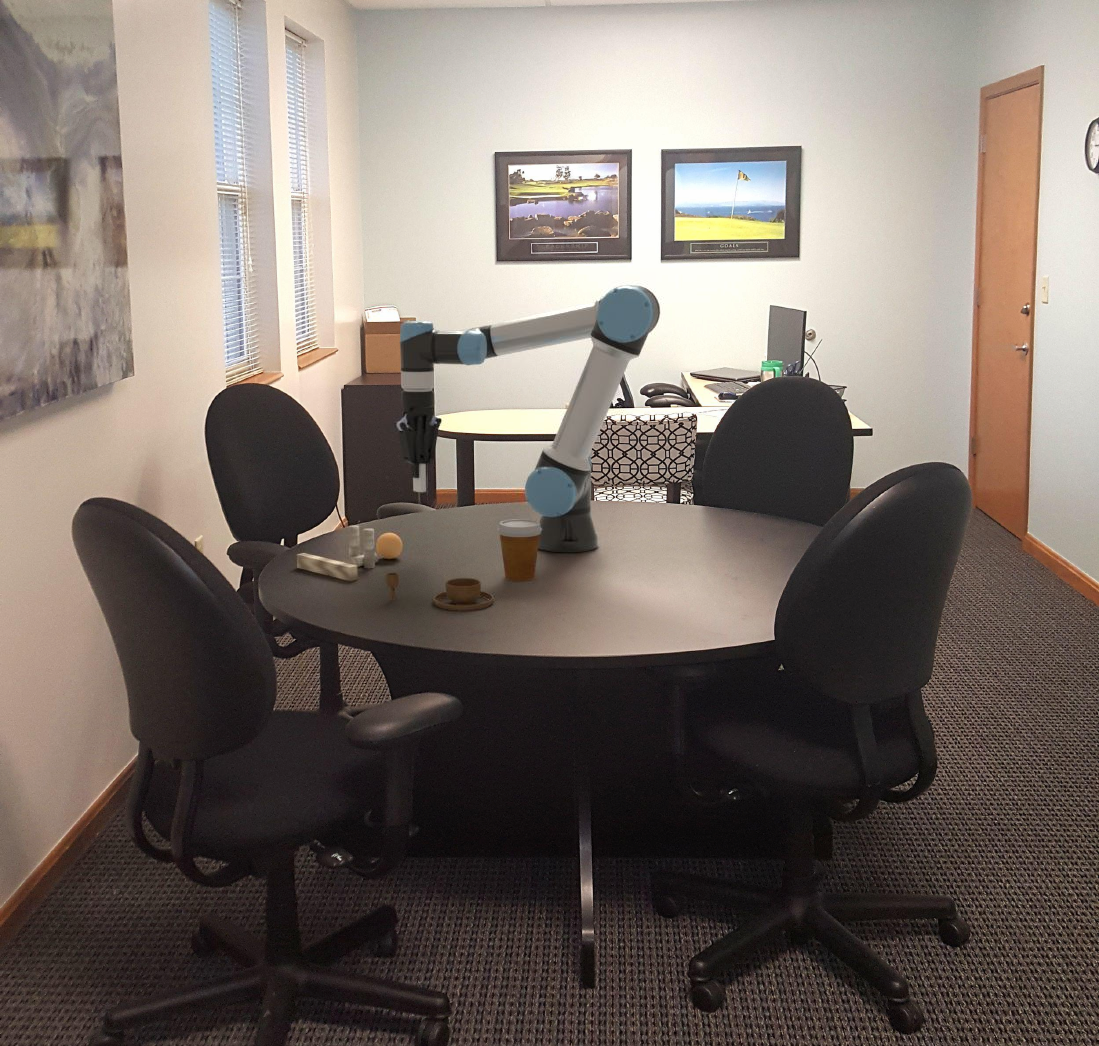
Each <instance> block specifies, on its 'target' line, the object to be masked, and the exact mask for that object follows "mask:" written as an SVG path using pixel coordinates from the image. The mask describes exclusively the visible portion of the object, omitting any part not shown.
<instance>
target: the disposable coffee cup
mask: <svg viewBox="0 0 1099 1046" xmlns="http://www.w3.org/2000/svg"><path fill="white" fill-rule="evenodd" d="M539 522H540V521H537V520H533V519H524V518H522V519H521V518H519V519H518V518H515V519H513V518H511V519H505V520H501V521H500V522H499V523H498V524H499V525H498V528H497V531H498V534H499V539H500V546H501V554H502V561H503V569H504V577H505V579H506V580H507V581H508V580H509V581H513V582H526V581H531V580H534V579H535V577H536V576H535V575H536V567H537V560H538V559H537V558H538V552H539V549H538V545H539V537H540V534H541V531H542V528H541V526H540V523H539Z"/></svg>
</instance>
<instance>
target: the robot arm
mask: <svg viewBox="0 0 1099 1046" xmlns="http://www.w3.org/2000/svg"><path fill="white" fill-rule="evenodd" d="M660 316H661V306H660V303H659V300H658V298H657V296H656V295H655V294H654V293H653V291H651V290H650V289H648V288H647V287H644V286H641V285H633V284H632V285H631V284H625V285H620V286H616V287H614V288H613V289H611V290H609V291H608V292H607V293H606V294H605V295H604V296H600V297H598V298H597V300H596V301H595V302H592V303H587V304H583V305H578V306H574V307H569V308H564V309H559V310H554V311H550V312H545V313H539V314H535V315H531V316H526V317H521V318H517V319H512V320H507V321H506V320H505V321H502V322H497V323H492V324H488V325H484V326H483V325H482V326H479V327H472V328H468V329H462V330H436V329H435V328H434V323H433V322H432V321H421V320H419V321H415V320H412V321H411V320H409V321H404V322H402V323H401V324H400V333H399V336H400V337H399V349H400V383H401V385H400V387H401V388H402V389H403V390H402V391H401V393H400V394H401V395H400V396H401V400H400V401H401V402H400V403H401V406H402V408H403V412H402V414H401V415H402V418H401V419H400V420H399V421H395V422H394V427H395V428H396V431H397V434H398V438H399V443H400V448H401V453H402V458H403V461H404V462H407V463H408V464H410V467H411V468H410V470H411V473H410V475H411V478H412V482H413V487H412V488H413V489H412V490H413V492H417V493H425V492H426V493H427V478H426V477H427V476H428V464H431V462H432V461H431V460H434V459H435V455H436V454H435V453H436V447H437V442H438V441H437V440H438V434H439V429H440V426H441V424H442V418H441V417H436V416H435V413H434V410H433V407H434V406H435V392H434V390H433V389H434V388H435V375H434V374H435V369H434V367H435V366H434V365H435V364H436V365H440V364H441V365H461V366H462V365H465V366H473V365H474V366H475V365H482V364H483V363H484V362H485V360H486V359H491V358H496V357H501V356H504V355H505V356H506V355H510V354H514V353H515V354H516V353H520V352H525V351H530V350H535V349H540V348H545V347H550V346H556V345H560V344H565V343H571V342H576V341H581V340H586V339H591V341H592V348H591V350H590V353H589V355H588V358H587V360H586V363H585V365H584V366H583V367H584V368H583V369H582V372H581V374H580V378H579V380H578V382H577V384H576V386H575V389H574V391H573V393H572V397H571V398H570V401H569V404H568V406H567V408H566V411H565V413H564V414H563V415H564V416H563V419H562V421H561V423H560V425H559V428H558V430H557V432H556V435H555V437H554V440H553V442H552V443H551V444H550V445H547V446H545V447H543V449H542V451H541V454H540V456H539V459H538V461H537V463H536V465H535V468H534V470H533V471H532V472H531V473H530V474H529V475H528V477H527V479H526V482H525V485H524V496H525V499H526V501H527V503H528V505H529V506H530V508H531V509H532V510H533V511H535V512H536V513H538V514H539V515H541V517H540V519H539V521H538V522H539V523H540V526H541V528H542V531H541V534H540V537H539V545H538V550H542V551H546V552H553V553H581V552H582V553H583V552H587V551H592V550H594V549H597V547H599V546H598V543H599V541H598V539H599V538H598V537H599V536H598V535H597V533H596V530H595V526H594V521H593V517H592V514H591V513H592V512H591V511H592V509H591V506H592V505H591V501H592V466H593V464H592V455H591V452H592V449H593V447H594V445H595V442H596V440H597V438H598V436H599V433H600V432H601V431H600V430H601V429H602V426H603V424H604V422H605V419H606V417H607V414H608V412H609V410H610V408H611V405H612V402H613V401H614V398H615V396H616V393H617V391H618V388H619V386H620V384H621V382H622V379H623V376H624V374H625V372H626V369H627V368H628V365H629V362H630V361H632V360H634V359H637V358H639V357H640V354H641V352H642V349H643V348H644V345H645V343H646V340H647V339H648V336H649V334H650V333H651V332H652V331H653V330H654V329H655V328H656V327H657V324H658V322H659V320H660Z"/></svg>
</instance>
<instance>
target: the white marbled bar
mask: <svg viewBox="0 0 1099 1046" xmlns="http://www.w3.org/2000/svg"><path fill="white" fill-rule="evenodd" d="M296 565H297V566H296V568H298V569H302V570H306V571H309V572H312V573H317V574H321V575H325V576H328V575H329V577H332V578H336V579H340V580H344V581H347V582H348V581H349V582H352V581H356V580H358V567H357V566H356V565H352V564H348V563H344V562H342V561H340V560H334V559H331V558H326V557H322V556H318V555H314V554H310V553H306V552H303V553H298V554H296Z"/></svg>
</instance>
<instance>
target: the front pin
mask: <svg viewBox="0 0 1099 1046" xmlns="http://www.w3.org/2000/svg"><path fill="white" fill-rule="evenodd" d="M341 562H344V563H348V564H352V565H356V566H357V568H360V567H364V554H360V556H356V557H351V558H349V557H348V558H343V559H342V560H341ZM378 562H379V554H378V553H377V552H375V564H376V563H378Z"/></svg>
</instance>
